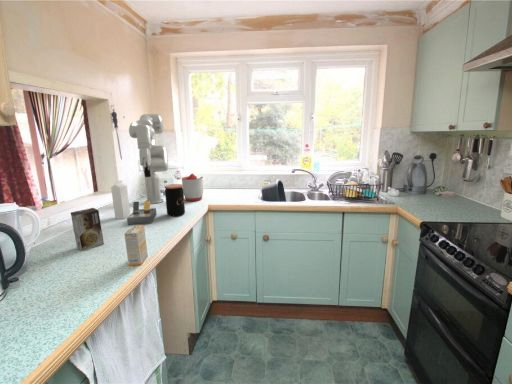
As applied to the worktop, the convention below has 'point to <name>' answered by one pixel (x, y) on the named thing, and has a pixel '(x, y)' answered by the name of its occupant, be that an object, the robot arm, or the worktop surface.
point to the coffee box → (87, 228)
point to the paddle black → (135, 207)
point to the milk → (120, 200)
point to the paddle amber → (146, 206)
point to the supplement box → (136, 245)
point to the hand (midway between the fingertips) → (147, 176)
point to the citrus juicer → (192, 187)
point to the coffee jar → (174, 200)
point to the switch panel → (142, 217)
